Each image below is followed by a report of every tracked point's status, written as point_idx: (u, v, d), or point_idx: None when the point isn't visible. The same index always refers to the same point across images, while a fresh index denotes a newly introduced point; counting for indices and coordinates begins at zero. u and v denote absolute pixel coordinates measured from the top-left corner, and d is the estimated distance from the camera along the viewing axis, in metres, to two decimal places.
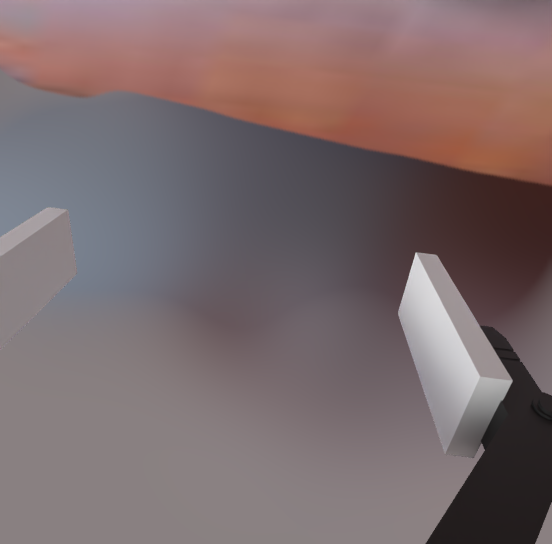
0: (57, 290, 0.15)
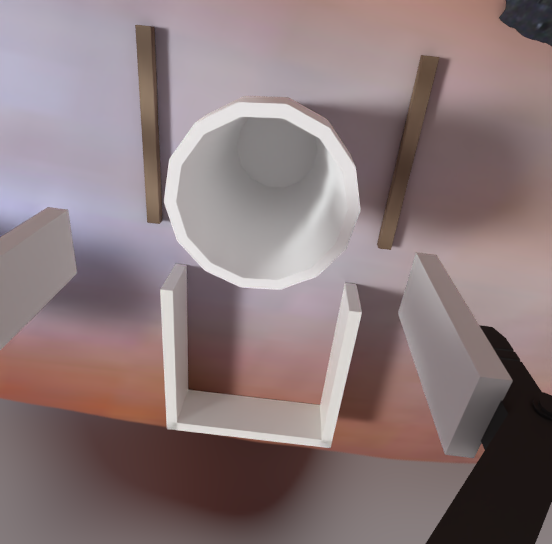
0: (57, 290, 0.15)
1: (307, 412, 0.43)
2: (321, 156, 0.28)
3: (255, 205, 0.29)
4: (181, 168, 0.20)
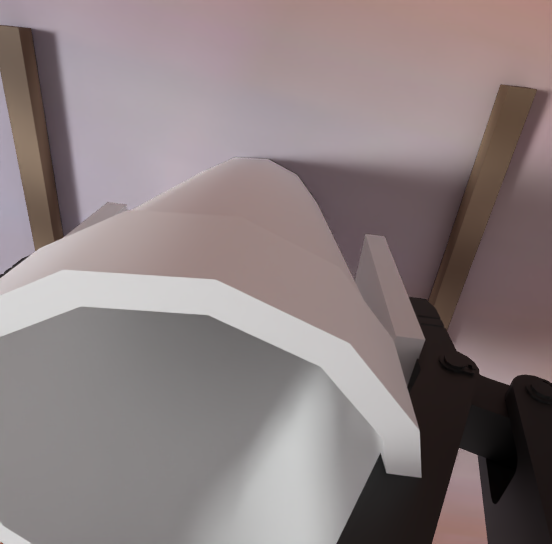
0: None
1: None
2: None
3: (208, 337, 0.17)
4: None
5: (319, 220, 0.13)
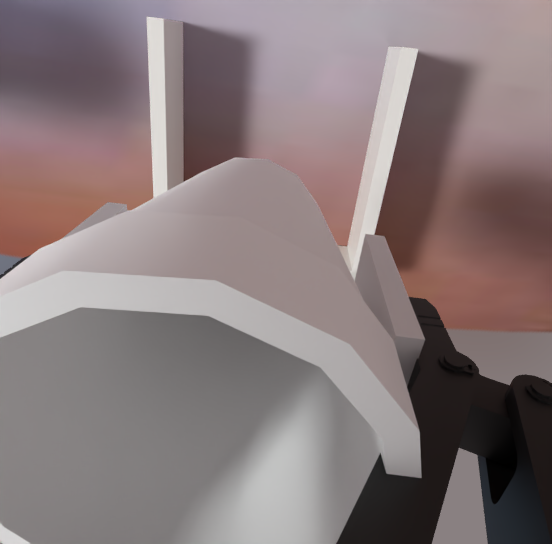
0: None
1: None
2: None
3: (208, 338, 0.17)
4: None
5: (319, 220, 0.13)
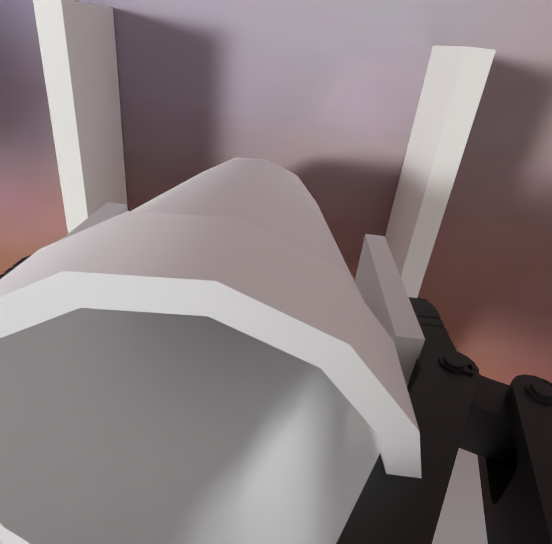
0: None
1: None
2: None
3: (208, 338, 0.17)
4: None
5: (319, 221, 0.13)
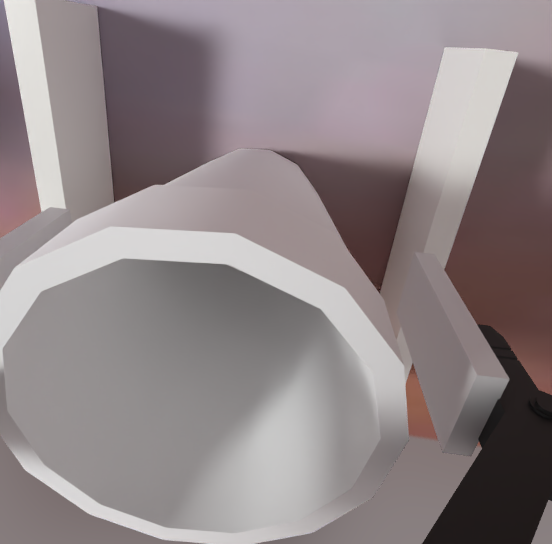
0: None
1: None
2: None
3: (215, 315, 0.18)
4: (3, 354, 0.09)
5: (318, 203, 0.15)
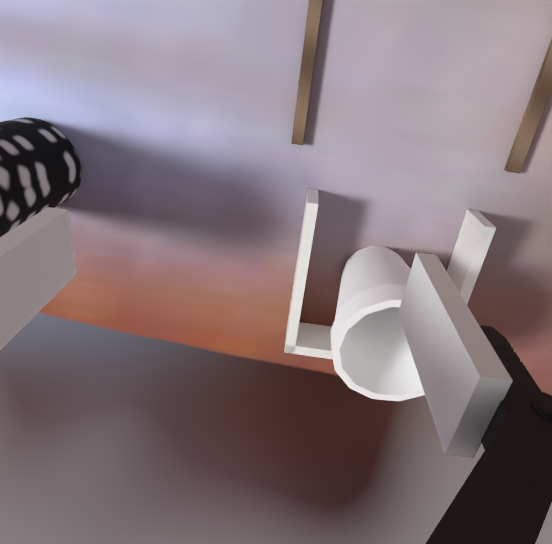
0: (57, 290, 0.15)
1: None
2: None
3: (362, 323, 0.40)
4: (347, 331, 0.31)
5: None
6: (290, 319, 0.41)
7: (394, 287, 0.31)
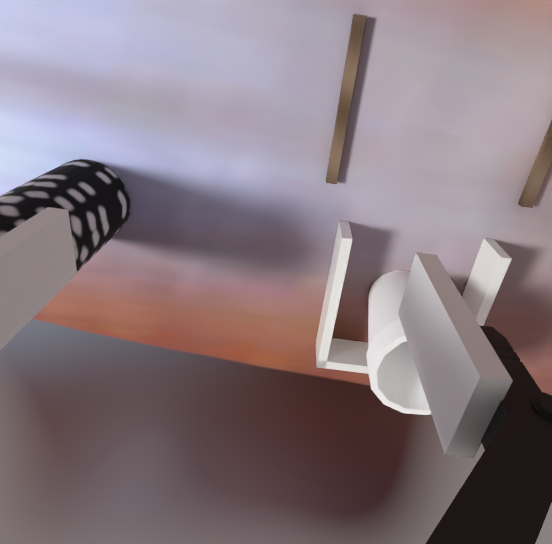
0: (57, 290, 0.15)
1: None
2: None
3: None
4: (383, 356, 0.35)
5: None
6: (323, 338, 0.45)
7: None
